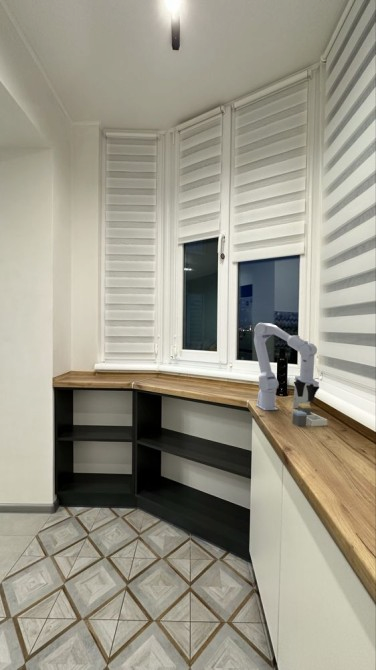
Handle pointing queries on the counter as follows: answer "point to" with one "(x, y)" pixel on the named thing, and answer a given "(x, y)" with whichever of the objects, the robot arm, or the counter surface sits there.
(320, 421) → the rack
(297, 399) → the skincare box
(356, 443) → the counter surface
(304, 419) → the blue plug
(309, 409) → the ochre plug
